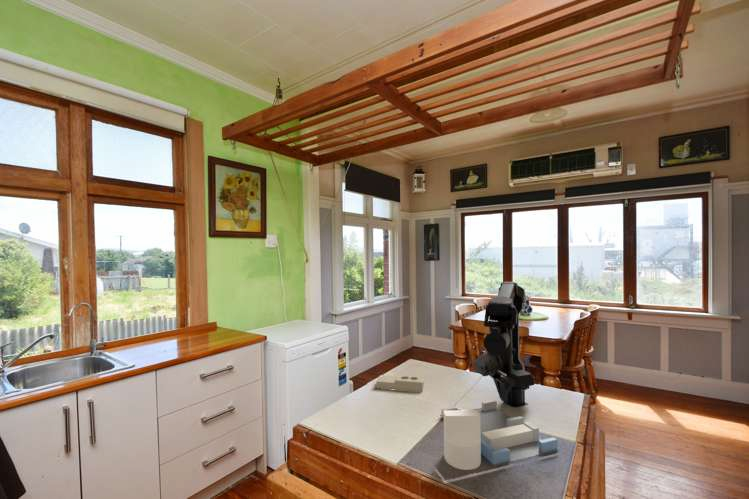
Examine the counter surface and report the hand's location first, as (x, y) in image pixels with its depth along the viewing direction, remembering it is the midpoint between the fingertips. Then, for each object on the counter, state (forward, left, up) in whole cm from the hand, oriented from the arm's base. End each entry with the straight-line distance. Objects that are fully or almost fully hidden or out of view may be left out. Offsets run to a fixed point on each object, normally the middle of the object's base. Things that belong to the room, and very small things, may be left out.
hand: (502, 399), depth 94 cm
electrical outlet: (+14, -43, -11) cm, 47 cm away
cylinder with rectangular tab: (+17, +6, -11) cm, 21 cm away
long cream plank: (+1, +4, -10) cm, 11 cm away
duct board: (+1, -3, -11) cm, 11 cm away
